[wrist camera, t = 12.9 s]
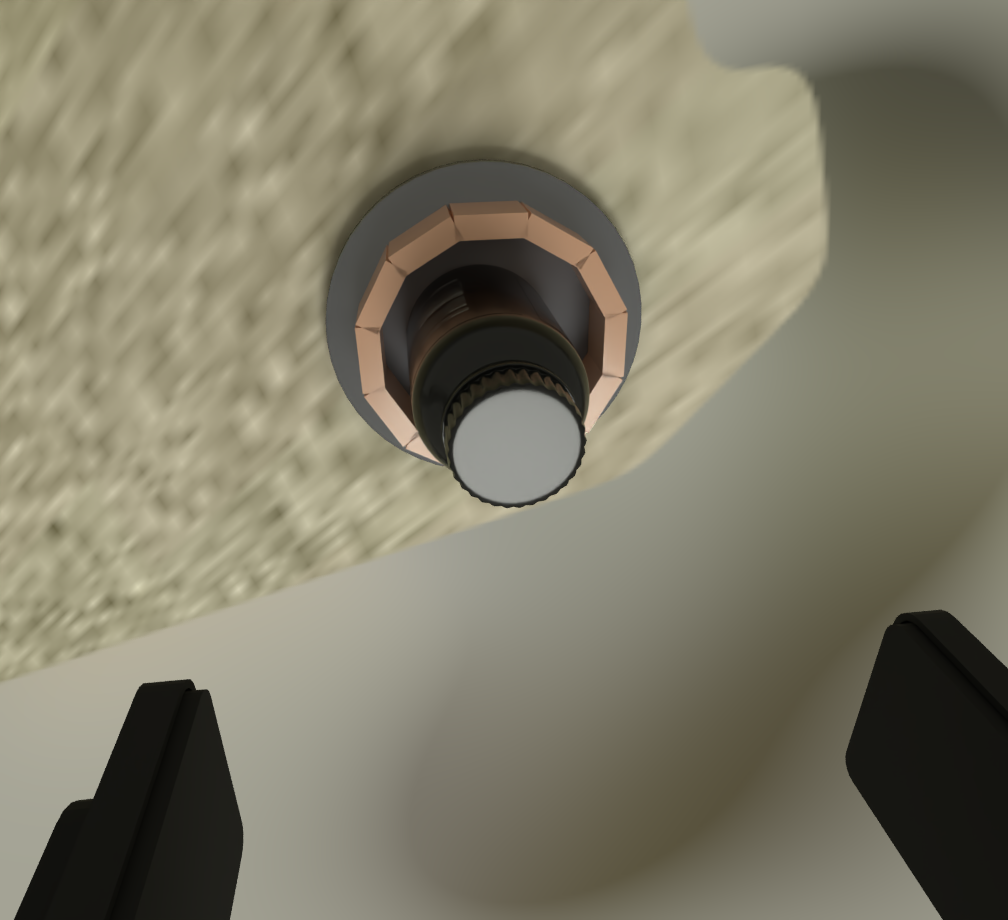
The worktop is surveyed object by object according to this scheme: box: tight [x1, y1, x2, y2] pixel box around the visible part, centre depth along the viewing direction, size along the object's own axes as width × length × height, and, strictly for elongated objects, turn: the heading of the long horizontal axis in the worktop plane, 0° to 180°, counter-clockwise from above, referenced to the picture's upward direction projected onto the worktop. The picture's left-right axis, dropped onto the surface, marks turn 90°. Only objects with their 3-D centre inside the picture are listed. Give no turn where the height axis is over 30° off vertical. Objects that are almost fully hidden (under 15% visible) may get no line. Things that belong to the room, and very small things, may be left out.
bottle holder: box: [326, 160, 641, 466], centre depth 34 cm, size 15×15×4 cm
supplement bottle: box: [406, 264, 590, 508], centre depth 30 cm, size 7×7×12 cm
